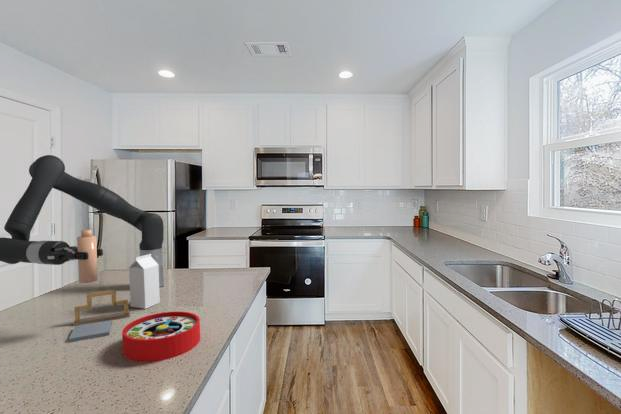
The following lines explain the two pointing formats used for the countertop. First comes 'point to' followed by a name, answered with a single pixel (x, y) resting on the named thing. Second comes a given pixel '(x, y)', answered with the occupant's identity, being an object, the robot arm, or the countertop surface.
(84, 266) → the peach bottle
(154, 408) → the countertop surface
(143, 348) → the toy clock
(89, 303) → the golden stepped frame
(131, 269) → the milk carton
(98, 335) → the pad
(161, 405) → the countertop surface
